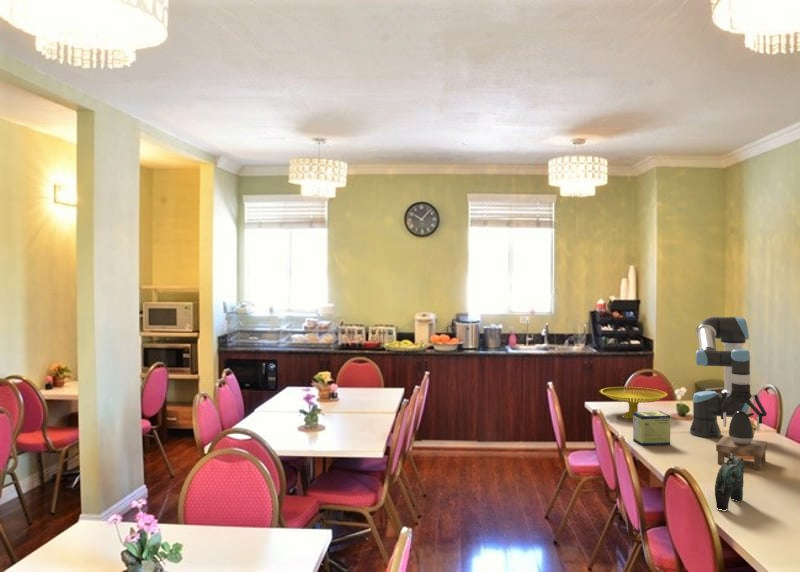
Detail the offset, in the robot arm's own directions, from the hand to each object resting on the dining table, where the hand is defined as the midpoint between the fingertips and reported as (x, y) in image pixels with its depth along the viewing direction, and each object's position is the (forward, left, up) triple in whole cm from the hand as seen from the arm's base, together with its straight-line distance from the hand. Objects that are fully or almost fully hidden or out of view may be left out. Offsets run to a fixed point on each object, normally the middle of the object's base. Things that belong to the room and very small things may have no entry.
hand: (741, 428), depth 275 cm
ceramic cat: (+5, -60, -16) cm, 62 cm away
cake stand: (-69, +67, -16) cm, 97 cm away
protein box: (-43, +11, -16) cm, 47 cm away
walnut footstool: (0, 0, -16) cm, 16 cm away
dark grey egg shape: (0, 0, -7) cm, 7 cm away
